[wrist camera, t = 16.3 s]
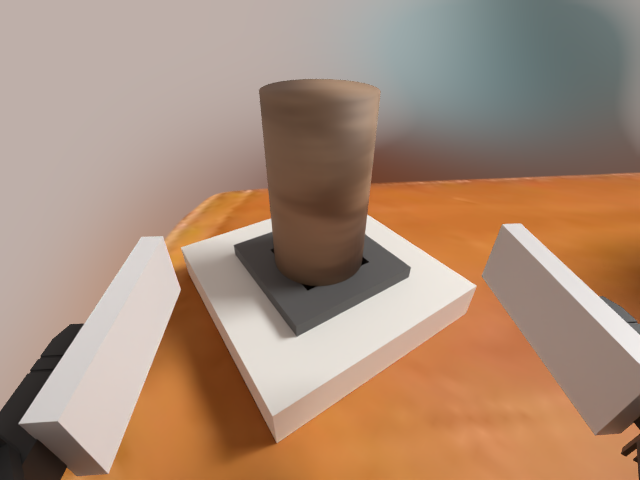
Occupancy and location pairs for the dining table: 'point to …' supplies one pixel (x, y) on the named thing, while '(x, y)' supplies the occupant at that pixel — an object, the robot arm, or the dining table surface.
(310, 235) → the peg
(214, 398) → the dining table surface
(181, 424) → the dining table surface
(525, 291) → the robot arm
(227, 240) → the frame
